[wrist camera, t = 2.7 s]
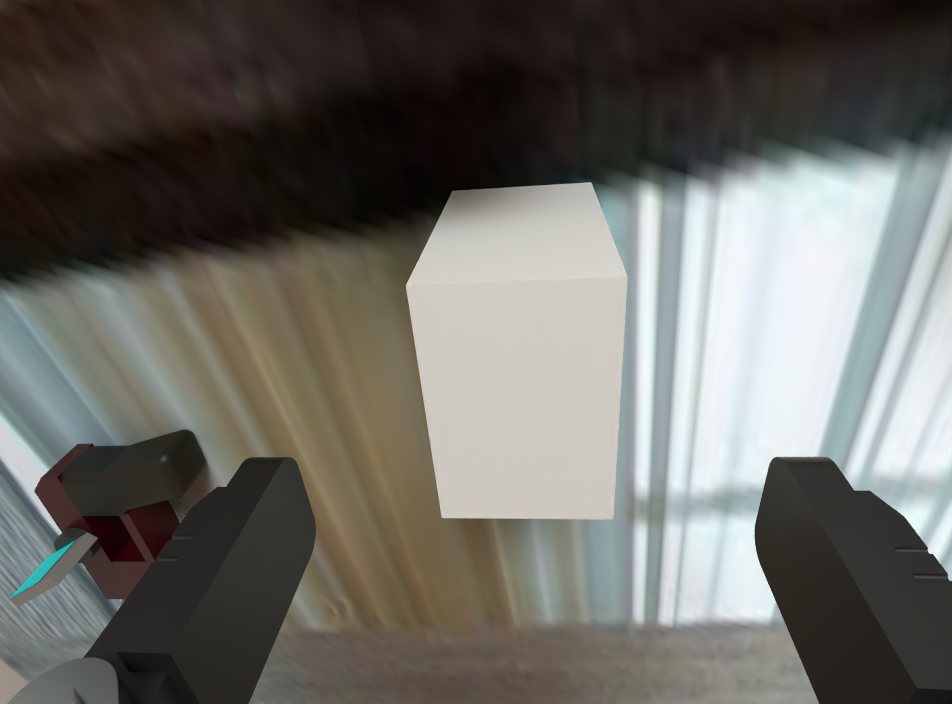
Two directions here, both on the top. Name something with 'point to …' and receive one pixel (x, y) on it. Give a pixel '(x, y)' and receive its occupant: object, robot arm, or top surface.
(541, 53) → the top surface
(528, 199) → the block
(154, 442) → the toy gun
